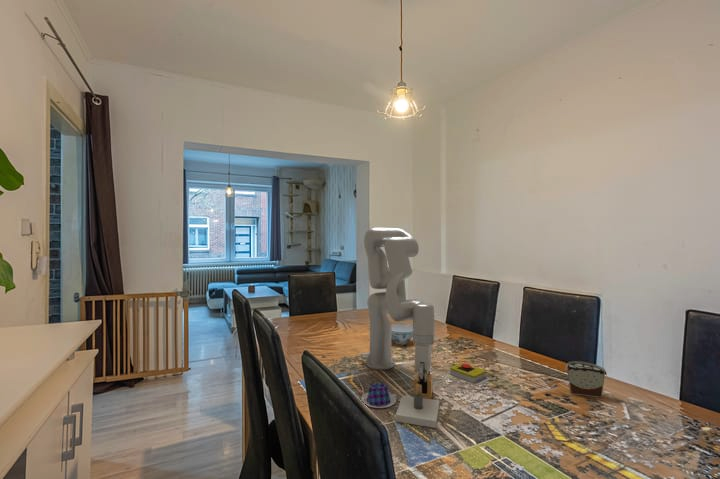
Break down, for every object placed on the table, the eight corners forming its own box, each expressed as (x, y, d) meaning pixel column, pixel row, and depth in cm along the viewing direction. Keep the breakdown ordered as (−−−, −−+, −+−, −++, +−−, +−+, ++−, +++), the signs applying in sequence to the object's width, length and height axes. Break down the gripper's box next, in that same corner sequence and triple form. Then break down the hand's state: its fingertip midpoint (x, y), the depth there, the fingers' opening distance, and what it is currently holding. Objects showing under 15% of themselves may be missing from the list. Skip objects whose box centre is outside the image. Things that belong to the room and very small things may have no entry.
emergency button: (459, 358, 141) (492, 369, 129) (459, 368, 141) (492, 380, 129) (445, 363, 135) (479, 375, 123) (445, 374, 135) (479, 386, 123)
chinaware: (381, 340, 179) (381, 326, 179) (405, 337, 185) (405, 323, 185) (396, 348, 165) (396, 333, 165) (420, 344, 172) (420, 329, 172)
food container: (600, 390, 119) (600, 363, 119) (606, 398, 113) (606, 369, 113) (561, 385, 123) (561, 359, 123) (565, 392, 117) (565, 365, 117)
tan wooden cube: (413, 396, 115) (413, 379, 115) (415, 389, 120) (415, 372, 120) (431, 398, 113) (431, 381, 113) (432, 391, 118) (432, 374, 118)
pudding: (389, 391, 119) (389, 376, 119) (401, 407, 107) (401, 391, 107) (357, 395, 116) (357, 380, 116) (366, 412, 104) (366, 396, 104)
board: (395, 421, 99) (395, 391, 99) (402, 401, 111) (402, 374, 111) (436, 428, 95) (436, 397, 95) (439, 406, 108) (439, 379, 108)
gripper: (416, 331, 126) (416, 376, 125) (409, 344, 109) (409, 396, 109) (436, 332, 124) (436, 378, 123) (432, 346, 107) (432, 399, 107)
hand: (424, 386), depth 116 cm, fingers open, 9 cm apart
